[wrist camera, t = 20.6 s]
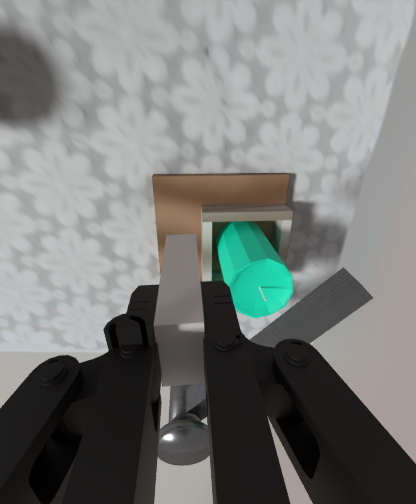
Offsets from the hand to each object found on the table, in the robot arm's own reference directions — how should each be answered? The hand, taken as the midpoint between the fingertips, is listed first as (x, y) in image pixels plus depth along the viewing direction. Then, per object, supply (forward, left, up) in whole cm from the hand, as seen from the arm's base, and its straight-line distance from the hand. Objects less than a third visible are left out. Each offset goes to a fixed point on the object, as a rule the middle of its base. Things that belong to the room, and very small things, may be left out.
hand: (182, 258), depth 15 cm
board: (+8, +4, -19) cm, 21 cm away
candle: (+7, +7, -18) cm, 20 cm away
